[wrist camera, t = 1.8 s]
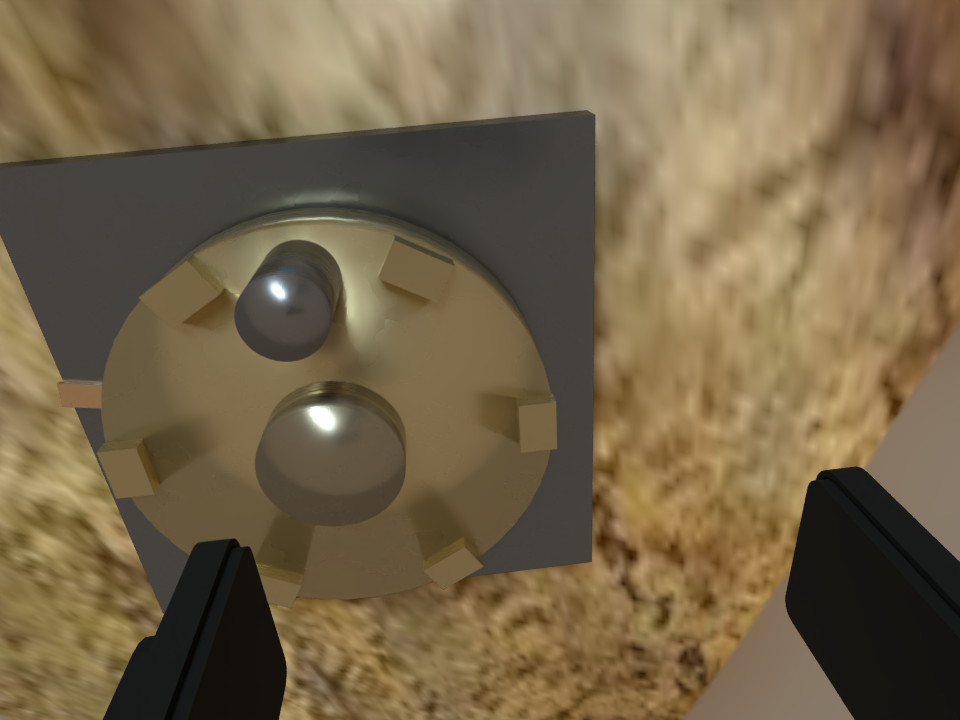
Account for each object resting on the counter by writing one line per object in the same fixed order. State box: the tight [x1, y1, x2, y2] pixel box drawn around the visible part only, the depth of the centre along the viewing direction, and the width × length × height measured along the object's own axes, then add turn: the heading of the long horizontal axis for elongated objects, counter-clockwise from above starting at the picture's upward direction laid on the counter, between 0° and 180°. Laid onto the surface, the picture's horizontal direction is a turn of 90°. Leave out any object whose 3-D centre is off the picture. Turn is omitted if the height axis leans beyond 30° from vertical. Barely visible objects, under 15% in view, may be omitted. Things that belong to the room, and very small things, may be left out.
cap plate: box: [0, 110, 595, 614], centre depth 31 cm, size 24×24×2 cm
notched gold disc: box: [97, 207, 557, 608], centre depth 27 cm, size 19×19×7 cm
